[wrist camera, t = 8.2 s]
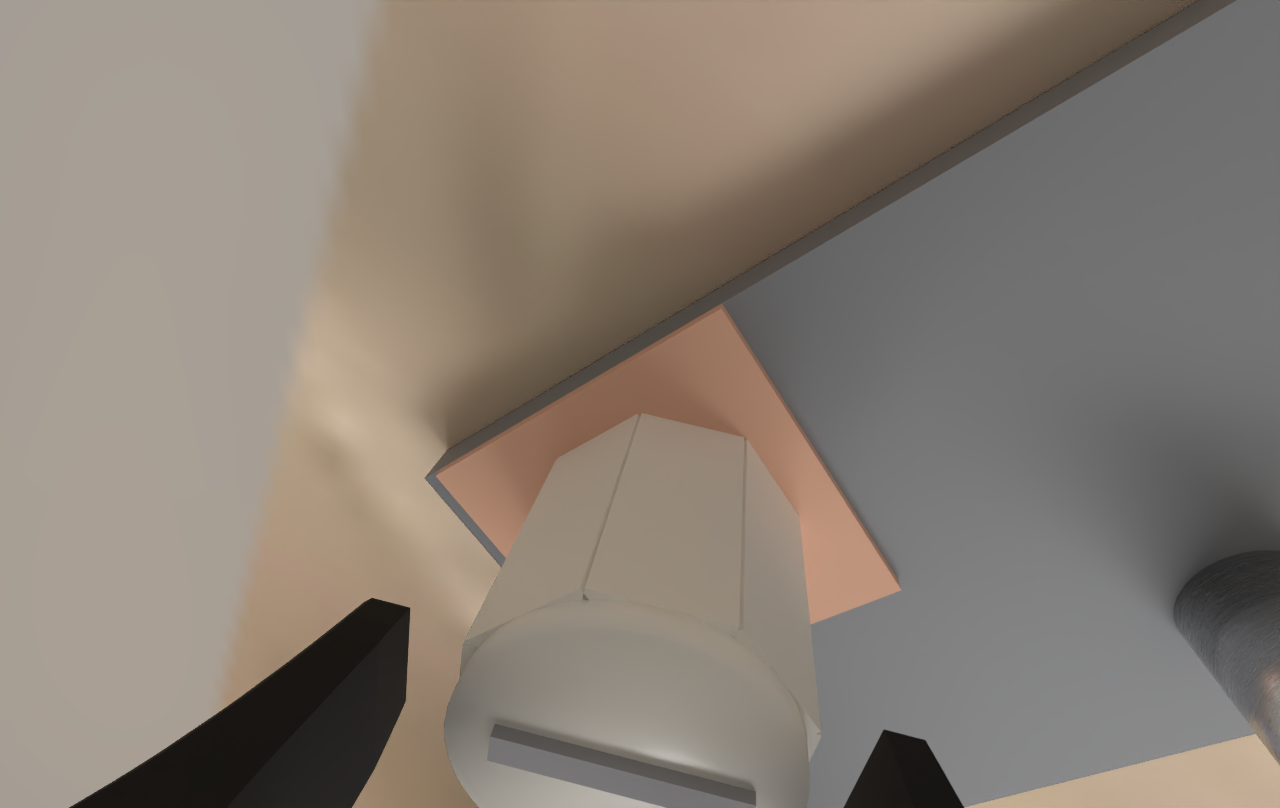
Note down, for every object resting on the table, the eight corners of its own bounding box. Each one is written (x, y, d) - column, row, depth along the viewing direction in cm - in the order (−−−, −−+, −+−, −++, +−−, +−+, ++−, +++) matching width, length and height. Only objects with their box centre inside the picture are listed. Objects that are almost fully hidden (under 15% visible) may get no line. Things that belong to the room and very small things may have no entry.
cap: (536, 590, 16) (430, 843, 10) (565, 395, 13) (449, 597, 8) (754, 645, 15) (754, 931, 10) (822, 455, 13) (865, 702, 8)
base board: (754, 818, 20) (754, 860, 19) (446, 450, 16) (424, 478, 15) (1550, 597, 14) (1617, 641, 13) (1369, -102, 10) (1445, -124, 9)
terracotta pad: (625, 685, 17) (623, 695, 17) (441, 468, 15) (435, 475, 15) (898, 580, 14) (901, 590, 14) (722, 303, 12) (721, 308, 12)
